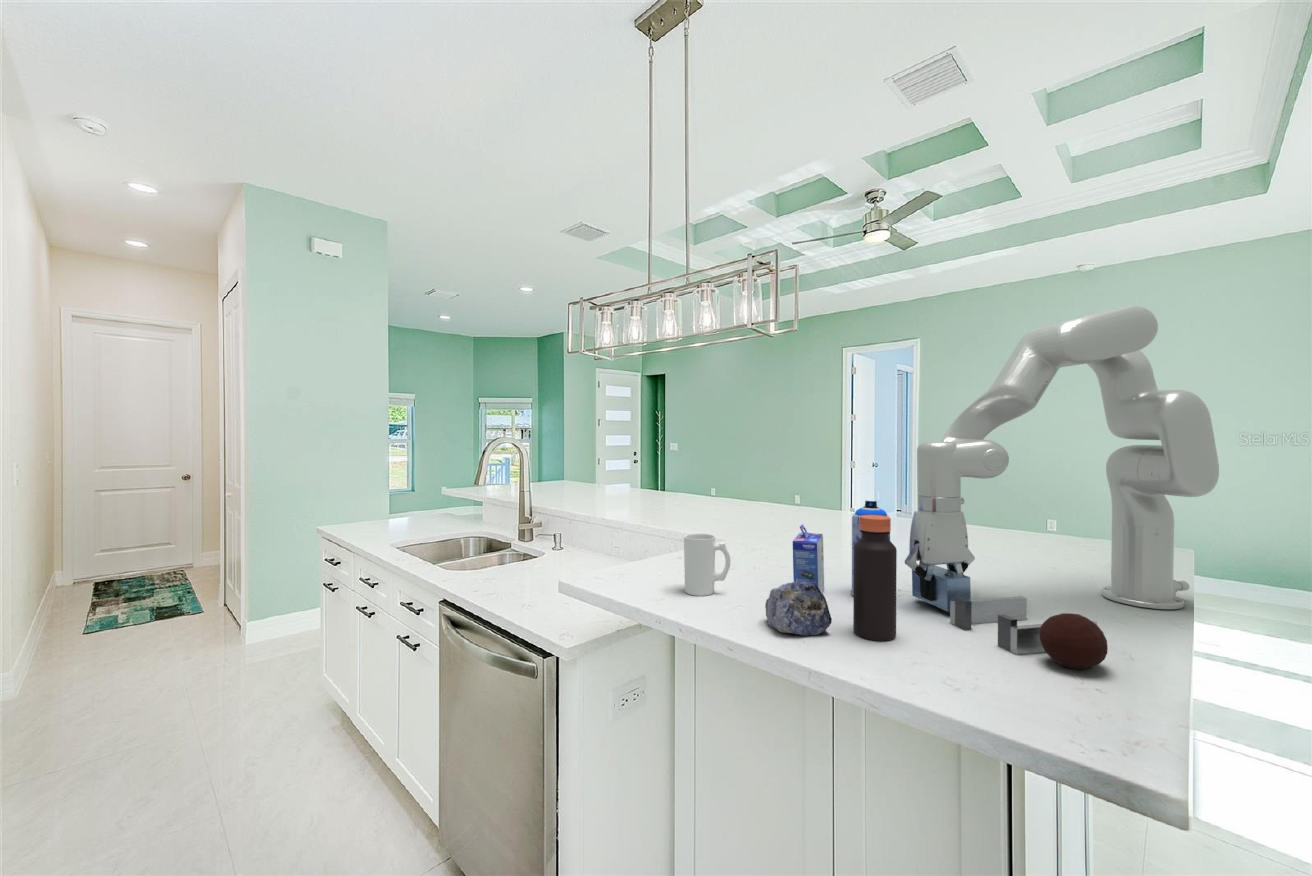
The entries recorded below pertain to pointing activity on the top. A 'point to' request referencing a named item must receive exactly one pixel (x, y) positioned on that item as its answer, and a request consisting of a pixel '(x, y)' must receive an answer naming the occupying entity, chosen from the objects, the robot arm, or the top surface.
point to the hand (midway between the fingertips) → (940, 596)
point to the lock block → (944, 587)
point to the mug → (702, 563)
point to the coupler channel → (1000, 621)
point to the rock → (798, 609)
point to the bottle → (875, 580)
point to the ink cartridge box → (808, 558)
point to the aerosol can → (868, 509)
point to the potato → (1073, 641)
